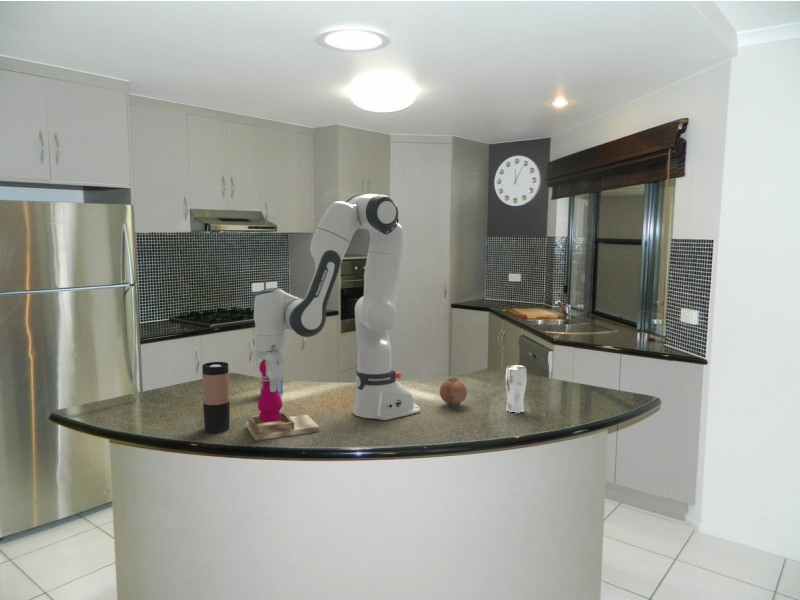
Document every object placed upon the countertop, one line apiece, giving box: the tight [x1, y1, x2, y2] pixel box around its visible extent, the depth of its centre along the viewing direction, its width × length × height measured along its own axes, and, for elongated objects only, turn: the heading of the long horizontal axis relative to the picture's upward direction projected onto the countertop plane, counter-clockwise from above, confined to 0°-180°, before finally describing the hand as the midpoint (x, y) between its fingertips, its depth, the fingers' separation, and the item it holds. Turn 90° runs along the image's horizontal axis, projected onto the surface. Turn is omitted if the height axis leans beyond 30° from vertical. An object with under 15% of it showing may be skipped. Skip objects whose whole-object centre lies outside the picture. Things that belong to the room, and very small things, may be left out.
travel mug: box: [201, 361, 231, 434], centre depth 175 cm, size 8×8×20 cm
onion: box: [439, 376, 468, 407], centre depth 202 cm, size 10×9×10 cm
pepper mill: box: [257, 360, 283, 422], centre depth 173 cm, size 7×7×20 cm
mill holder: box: [246, 411, 320, 441], centre depth 176 cm, size 19×13×4 cm
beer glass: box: [504, 364, 527, 414], centre depth 196 cm, size 7×7×15 cm
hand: (270, 388), depth 174 cm, fingers closed on pepper mill, 5 cm apart
